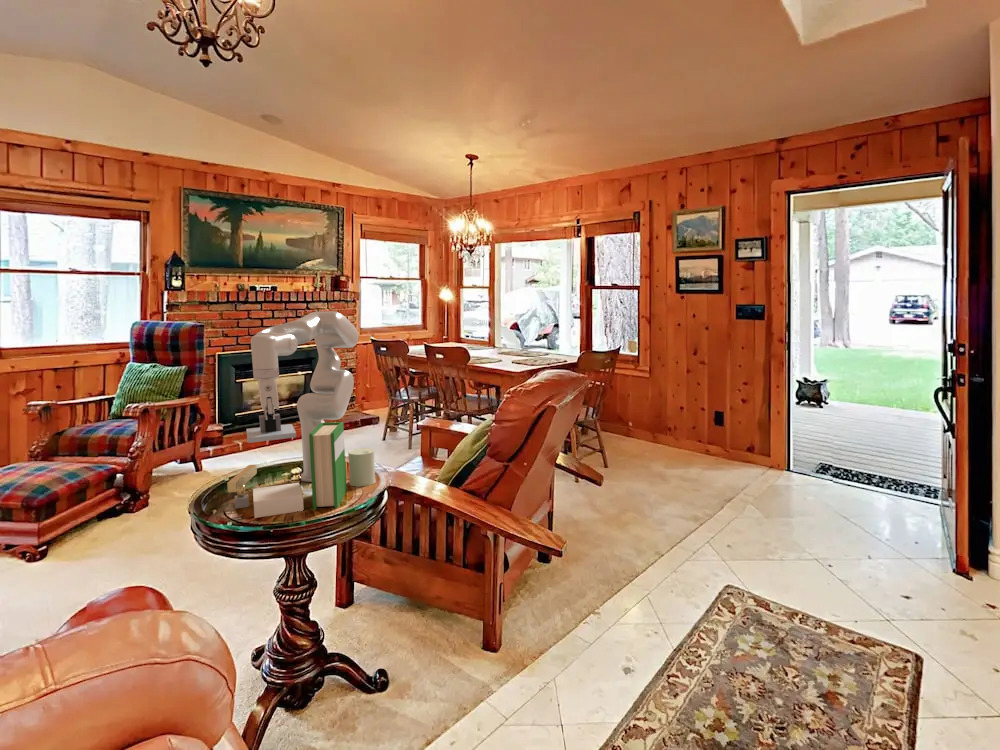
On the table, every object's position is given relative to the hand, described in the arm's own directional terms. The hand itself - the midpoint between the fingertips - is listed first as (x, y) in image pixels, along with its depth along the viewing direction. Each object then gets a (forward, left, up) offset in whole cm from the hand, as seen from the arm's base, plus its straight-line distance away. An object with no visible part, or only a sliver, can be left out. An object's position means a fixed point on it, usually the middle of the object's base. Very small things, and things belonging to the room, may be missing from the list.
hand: (270, 430), depth 181 cm
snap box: (+2, +6, -24) cm, 24 cm away
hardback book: (-17, +6, -24) cm, 30 cm away
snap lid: (0, 0, -2) cm, 2 cm away
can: (-30, -8, -24) cm, 39 cm away
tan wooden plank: (+9, -3, -20) cm, 23 cm away
